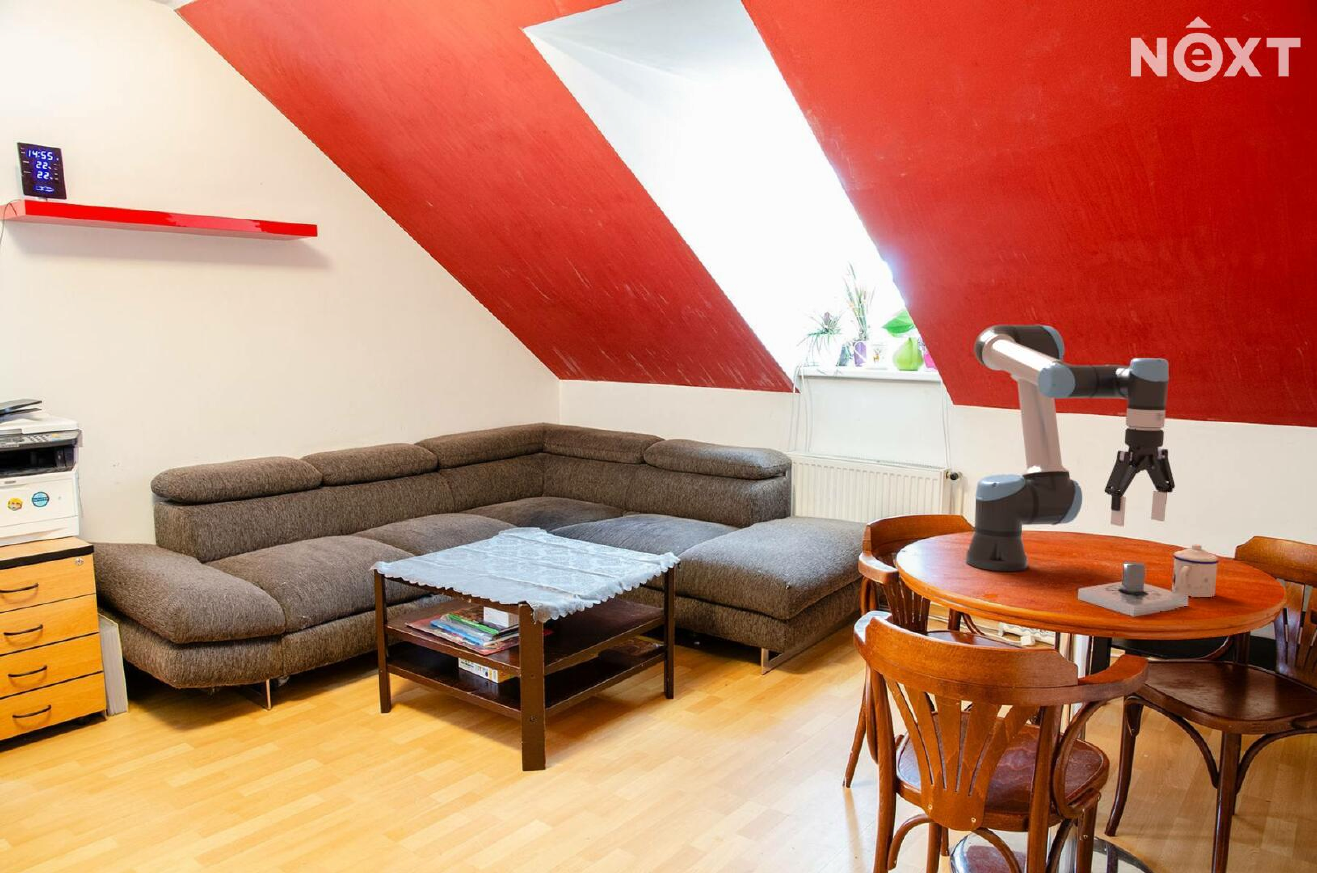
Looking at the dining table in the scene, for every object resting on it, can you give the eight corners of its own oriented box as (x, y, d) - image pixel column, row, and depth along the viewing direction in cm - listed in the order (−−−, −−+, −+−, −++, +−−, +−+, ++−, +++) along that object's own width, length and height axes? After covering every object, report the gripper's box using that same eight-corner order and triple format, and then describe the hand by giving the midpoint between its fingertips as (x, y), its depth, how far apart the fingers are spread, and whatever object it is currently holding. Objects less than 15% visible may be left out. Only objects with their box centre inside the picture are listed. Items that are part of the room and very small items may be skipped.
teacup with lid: (1179, 585, 217) (1183, 538, 216) (1221, 594, 210) (1225, 545, 209) (1159, 594, 210) (1163, 545, 208) (1202, 603, 203) (1206, 553, 201)
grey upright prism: (1116, 601, 204) (1118, 562, 203) (1129, 599, 206) (1132, 560, 205) (1133, 606, 200) (1136, 567, 199) (1147, 604, 202) (1149, 565, 201)
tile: (1077, 599, 205) (1078, 588, 205) (1130, 590, 213) (1131, 580, 213) (1133, 616, 193) (1134, 605, 192) (1187, 606, 200) (1188, 595, 200)
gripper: (1121, 432, 189) (1114, 530, 192) (1197, 427, 200) (1189, 521, 203) (1091, 428, 196) (1084, 523, 199) (1165, 424, 207) (1158, 515, 209)
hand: (1137, 522), depth 201 cm, fingers open, 13 cm apart
